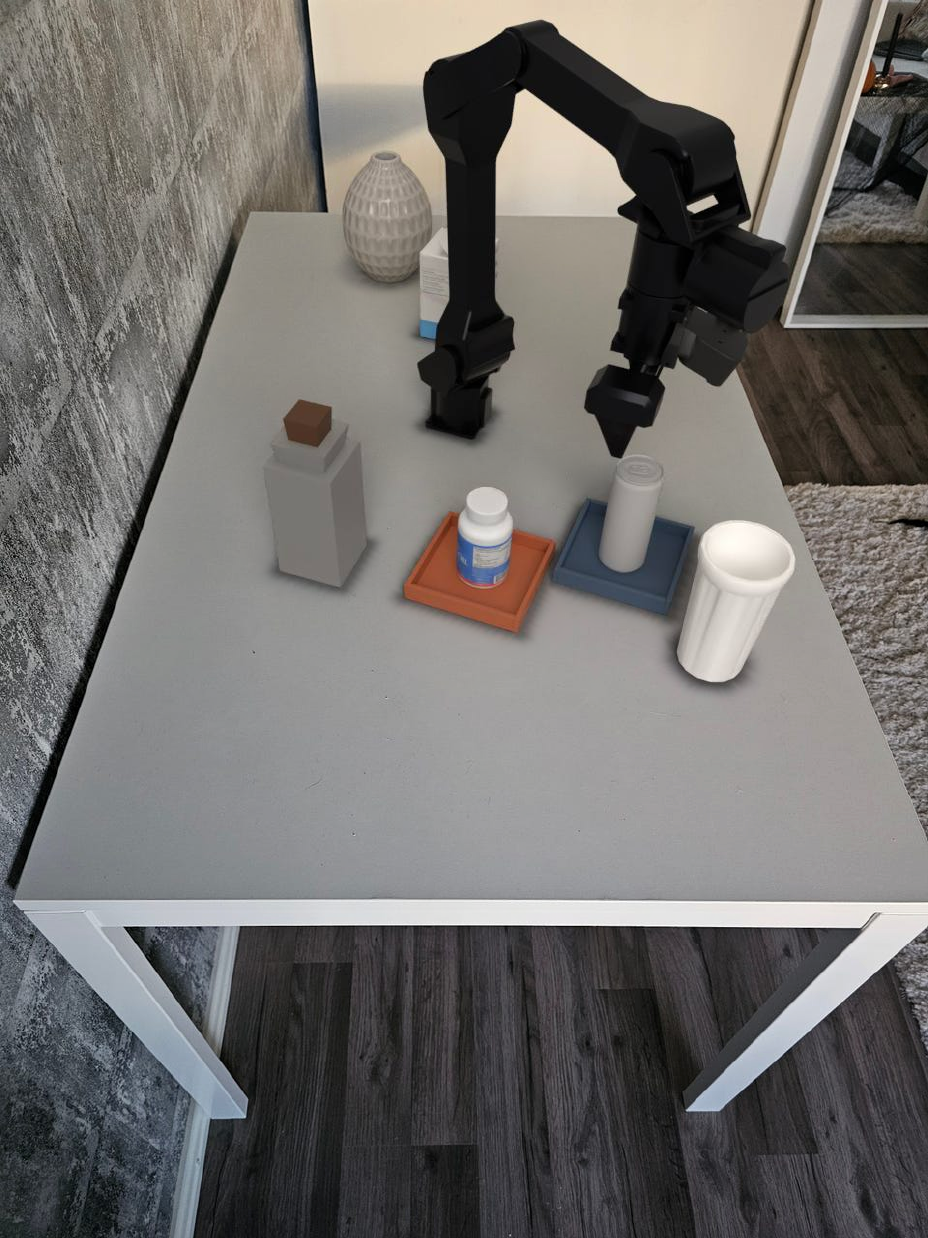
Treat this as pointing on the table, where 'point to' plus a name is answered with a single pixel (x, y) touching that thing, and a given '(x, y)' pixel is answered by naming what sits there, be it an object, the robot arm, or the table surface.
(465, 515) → the pill bottle
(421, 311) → the ink box
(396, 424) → the table surface
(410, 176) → the vase
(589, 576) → the slate tray
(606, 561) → the beverage can
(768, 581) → the cup
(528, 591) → the terracotta tray
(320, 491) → the perfume bottle
